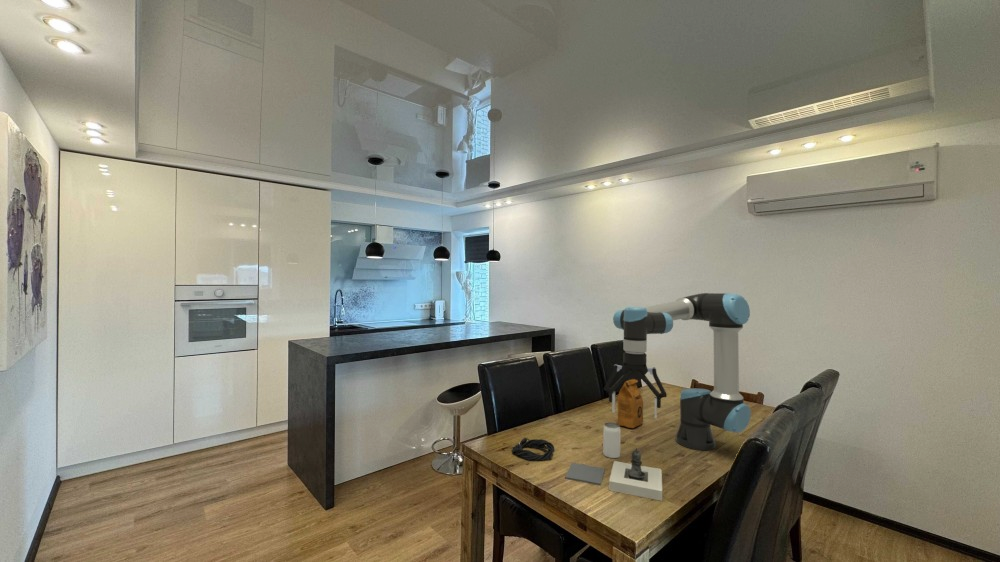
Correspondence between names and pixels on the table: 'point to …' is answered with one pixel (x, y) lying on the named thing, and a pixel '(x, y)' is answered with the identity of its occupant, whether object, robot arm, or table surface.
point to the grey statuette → (636, 467)
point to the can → (611, 440)
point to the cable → (535, 444)
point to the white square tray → (636, 481)
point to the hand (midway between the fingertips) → (634, 414)
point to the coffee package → (630, 405)
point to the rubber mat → (585, 473)
